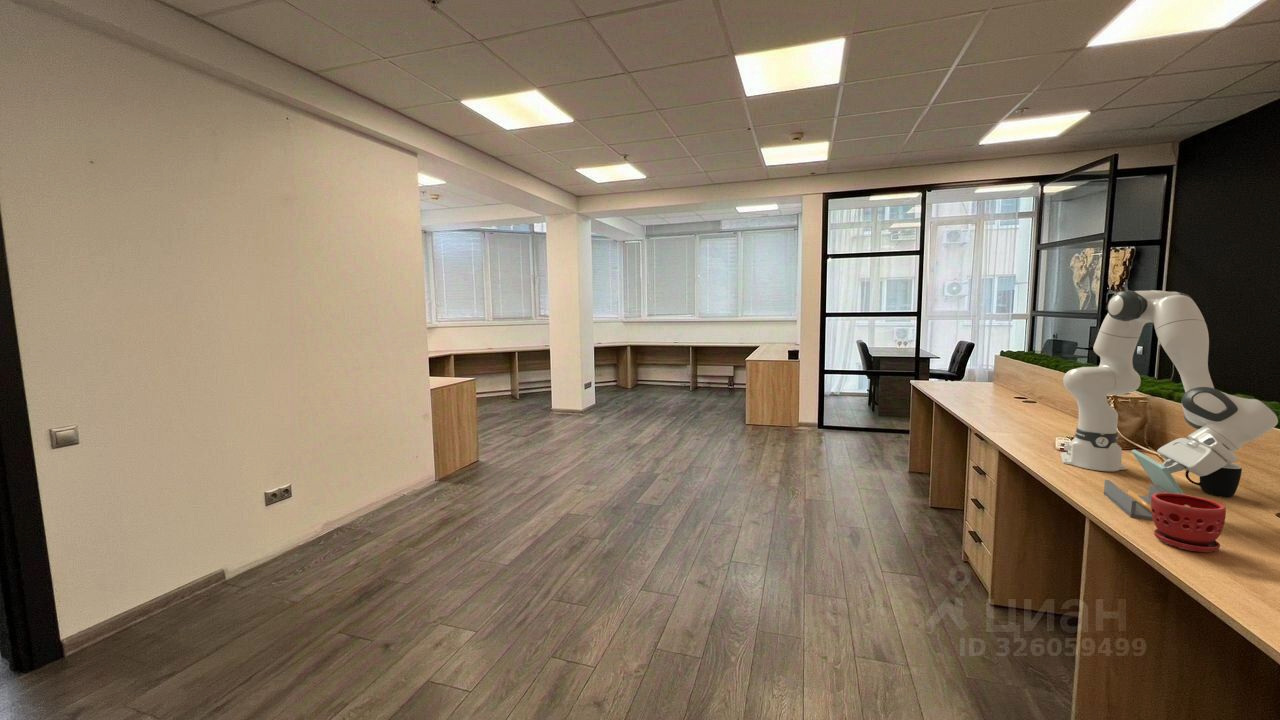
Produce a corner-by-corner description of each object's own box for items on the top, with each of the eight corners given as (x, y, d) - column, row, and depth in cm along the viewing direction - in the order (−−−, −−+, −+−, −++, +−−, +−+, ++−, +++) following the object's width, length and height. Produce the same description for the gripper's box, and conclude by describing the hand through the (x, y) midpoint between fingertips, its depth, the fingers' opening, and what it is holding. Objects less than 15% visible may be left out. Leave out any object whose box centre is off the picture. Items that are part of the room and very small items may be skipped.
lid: (1130, 450, 160) (1135, 449, 160) (1154, 484, 159) (1158, 482, 158) (1161, 468, 142) (1167, 467, 142) (1188, 506, 141) (1194, 504, 140)
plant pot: (1219, 544, 130) (1224, 499, 129) (1223, 561, 121) (1228, 514, 120) (1148, 528, 139) (1152, 487, 138) (1146, 543, 130) (1151, 499, 129)
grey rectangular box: (1103, 494, 164) (1104, 479, 164) (1152, 500, 159) (1153, 485, 159) (1130, 517, 147) (1132, 500, 146) (1186, 524, 141) (1188, 507, 141)
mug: (1234, 493, 164) (1238, 463, 163) (1241, 501, 157) (1245, 470, 156) (1181, 485, 172) (1184, 456, 171) (1186, 492, 165) (1189, 463, 164)
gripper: (1180, 428, 155) (1135, 455, 160) (1220, 444, 137) (1169, 474, 142) (1198, 443, 153) (1153, 470, 159) (1241, 462, 135) (1189, 491, 140)
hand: (1161, 472), depth 150 cm, fingers closed, pressing on lid
